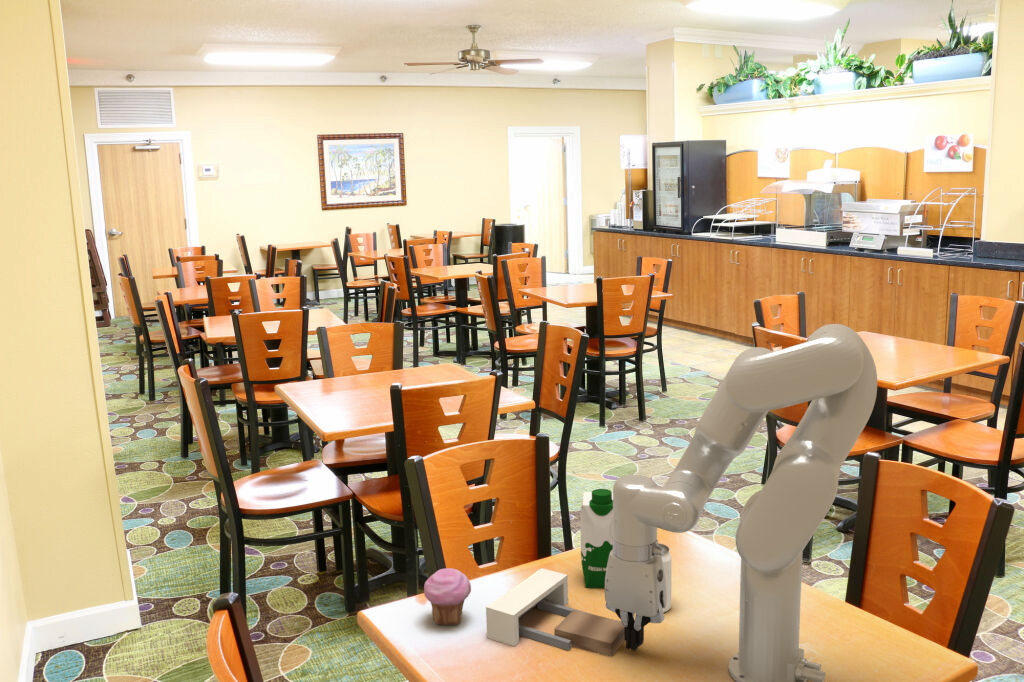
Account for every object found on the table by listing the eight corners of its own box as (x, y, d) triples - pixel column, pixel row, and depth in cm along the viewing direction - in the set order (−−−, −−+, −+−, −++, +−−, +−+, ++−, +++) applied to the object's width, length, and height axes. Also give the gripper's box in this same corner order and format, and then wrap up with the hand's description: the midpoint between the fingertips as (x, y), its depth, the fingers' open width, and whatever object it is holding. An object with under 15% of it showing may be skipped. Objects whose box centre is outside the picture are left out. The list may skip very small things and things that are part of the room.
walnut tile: (628, 638, 157) (628, 622, 157) (611, 659, 151) (611, 643, 150) (573, 624, 163) (573, 609, 162) (554, 644, 156) (554, 628, 155)
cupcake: (422, 632, 161) (420, 581, 159) (428, 609, 169) (426, 561, 167) (470, 631, 160) (468, 581, 159) (473, 609, 169) (472, 561, 167)
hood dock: (608, 615, 165) (608, 585, 164) (557, 660, 150) (556, 628, 149) (542, 596, 173) (541, 568, 172) (487, 637, 158) (485, 607, 157)
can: (670, 616, 164) (671, 556, 162) (636, 613, 166) (636, 554, 163) (671, 600, 170) (672, 542, 168) (638, 597, 172) (638, 540, 170)
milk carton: (580, 589, 176) (579, 495, 172) (581, 570, 185) (580, 480, 181) (624, 590, 175) (623, 496, 171) (623, 571, 184) (622, 481, 180)
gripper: (684, 549, 147) (682, 648, 151) (606, 531, 156) (606, 626, 159) (666, 565, 141) (664, 668, 145) (585, 546, 150) (586, 644, 153)
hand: (634, 646), depth 152 cm, fingers closed
